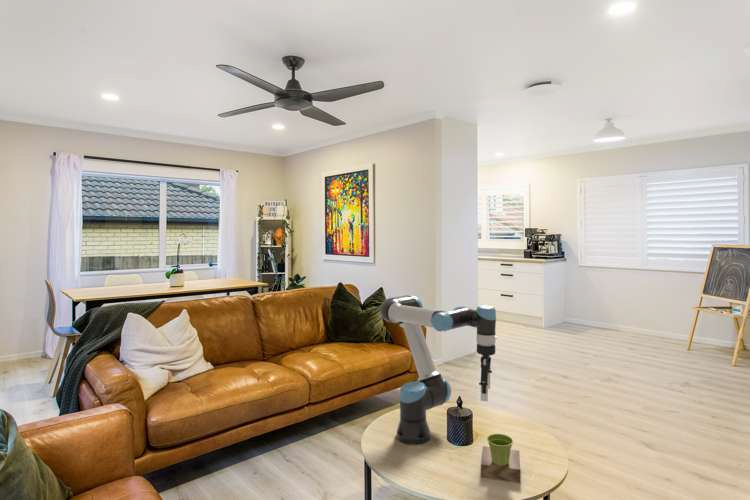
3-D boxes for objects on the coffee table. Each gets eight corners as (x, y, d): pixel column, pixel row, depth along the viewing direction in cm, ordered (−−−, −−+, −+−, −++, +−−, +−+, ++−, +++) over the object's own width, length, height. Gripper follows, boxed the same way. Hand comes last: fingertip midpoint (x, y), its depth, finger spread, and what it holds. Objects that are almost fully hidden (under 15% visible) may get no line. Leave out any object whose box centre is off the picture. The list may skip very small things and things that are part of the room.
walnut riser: (480, 477, 158) (480, 464, 158) (482, 458, 172) (482, 446, 172) (520, 483, 154) (520, 469, 154) (519, 463, 168) (519, 450, 167)
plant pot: (514, 470, 154) (514, 446, 153) (487, 467, 156) (487, 444, 156) (512, 456, 163) (512, 434, 163) (487, 454, 165) (486, 432, 165)
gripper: (493, 353, 161) (493, 407, 163) (497, 336, 185) (496, 384, 186) (473, 351, 164) (473, 405, 165) (479, 335, 187) (479, 382, 189)
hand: (485, 394), depth 176 cm, fingers open, 13 cm apart
